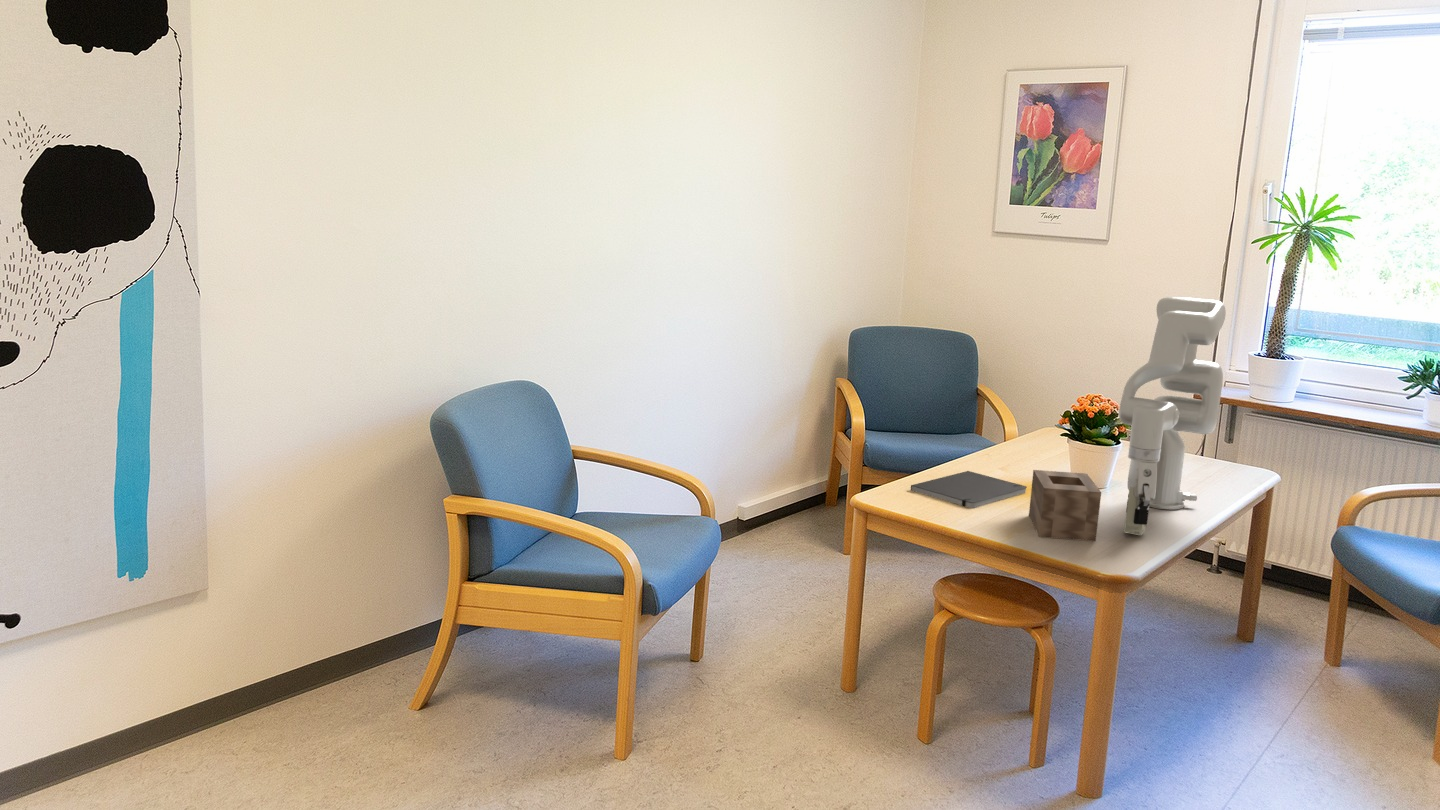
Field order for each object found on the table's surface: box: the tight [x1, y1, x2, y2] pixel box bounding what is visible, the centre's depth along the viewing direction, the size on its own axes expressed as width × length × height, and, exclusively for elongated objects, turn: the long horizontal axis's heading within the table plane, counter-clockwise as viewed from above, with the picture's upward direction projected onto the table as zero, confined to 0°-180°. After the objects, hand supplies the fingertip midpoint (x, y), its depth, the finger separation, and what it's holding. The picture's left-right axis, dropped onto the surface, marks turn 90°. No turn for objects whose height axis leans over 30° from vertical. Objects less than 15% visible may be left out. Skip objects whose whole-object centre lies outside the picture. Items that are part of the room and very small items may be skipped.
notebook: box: [910, 470, 1028, 509], centre depth 303 cm, size 22×2×28 cm
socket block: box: [1028, 469, 1102, 542], centre depth 271 cm, size 14×18×13 cm
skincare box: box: [1123, 487, 1147, 536], centre depth 266 cm, size 6×4×12 cm
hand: (1136, 518), depth 267 cm, fingers closed on skincare box, 7 cm apart
